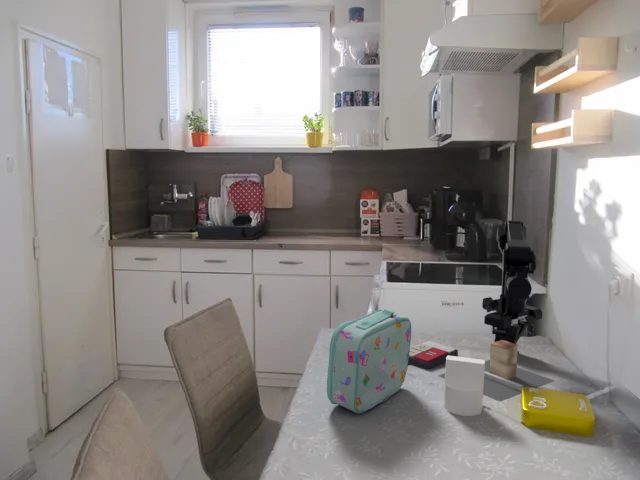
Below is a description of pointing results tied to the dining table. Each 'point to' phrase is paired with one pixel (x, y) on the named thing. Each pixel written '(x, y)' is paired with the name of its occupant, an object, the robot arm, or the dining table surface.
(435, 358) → the calculator
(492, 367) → the beech block
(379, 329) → the lunch box
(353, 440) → the dining table surface
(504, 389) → the mat
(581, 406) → the element tile
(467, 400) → the cylinder with rectangular tab
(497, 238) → the robot arm
